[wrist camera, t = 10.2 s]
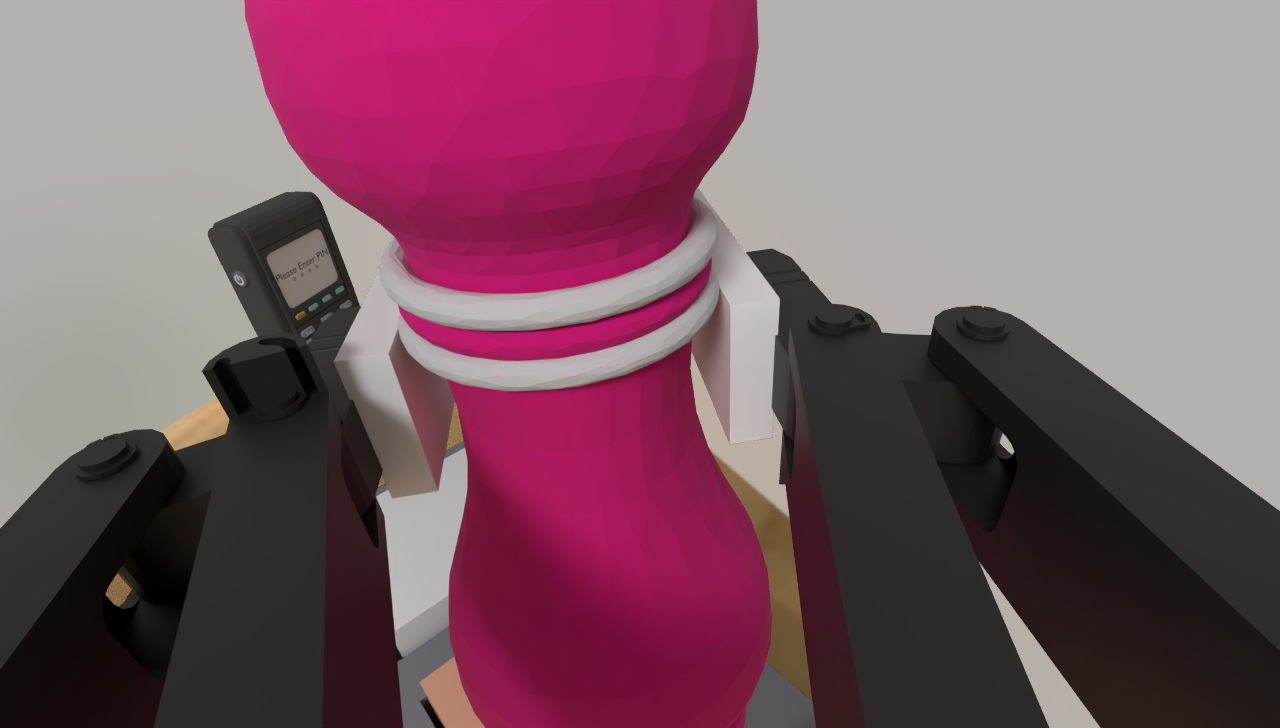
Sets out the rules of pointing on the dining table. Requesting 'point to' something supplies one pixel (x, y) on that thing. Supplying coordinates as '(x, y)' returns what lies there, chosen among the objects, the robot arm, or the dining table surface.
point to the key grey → (424, 553)
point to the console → (772, 713)
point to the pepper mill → (554, 324)
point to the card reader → (284, 264)
